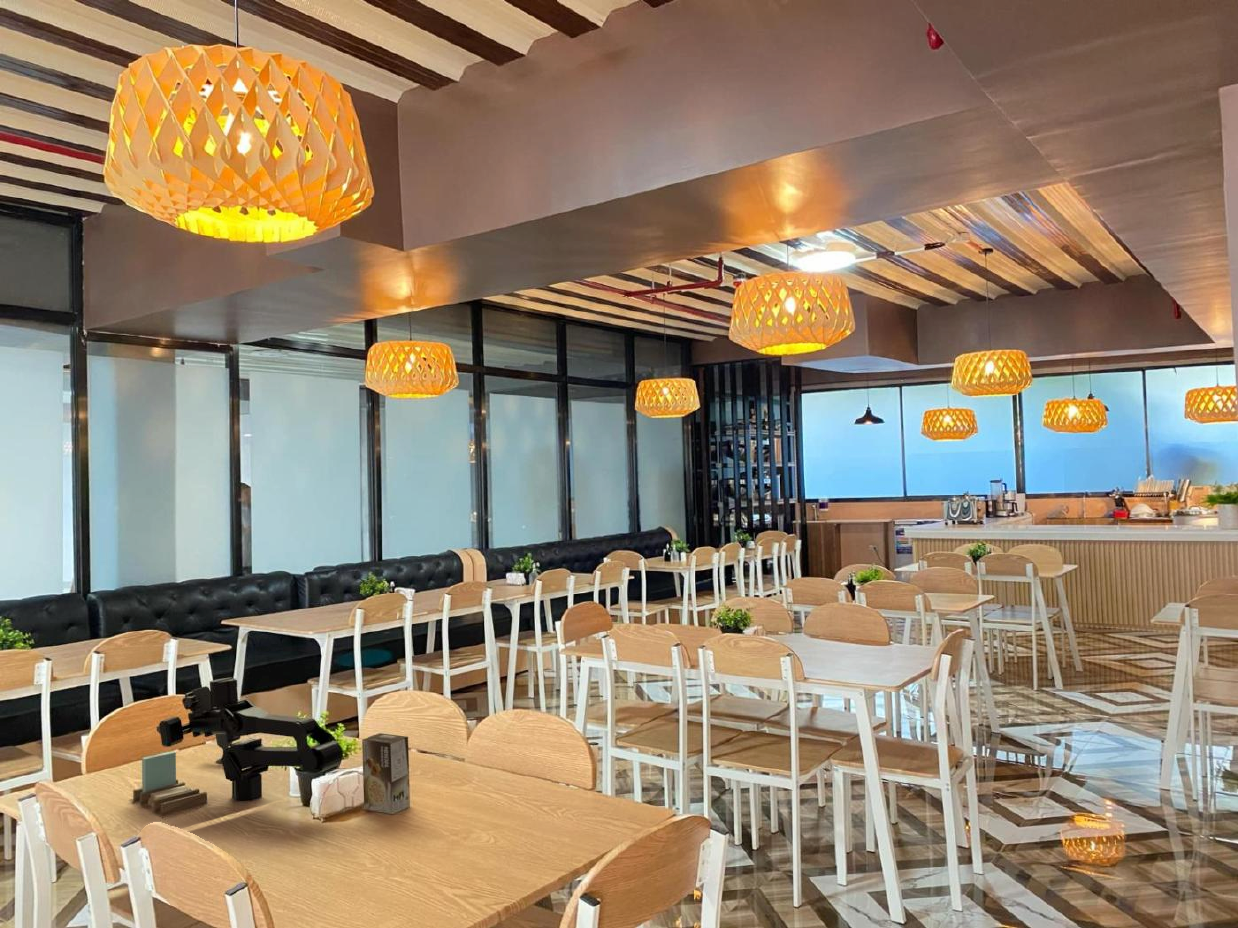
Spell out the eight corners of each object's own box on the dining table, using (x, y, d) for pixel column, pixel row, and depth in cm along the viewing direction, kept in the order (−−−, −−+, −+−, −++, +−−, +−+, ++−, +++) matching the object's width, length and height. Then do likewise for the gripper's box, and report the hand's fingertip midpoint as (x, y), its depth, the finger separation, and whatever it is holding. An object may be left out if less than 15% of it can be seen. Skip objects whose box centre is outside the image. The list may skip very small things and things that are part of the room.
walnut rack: (212, 808, 209) (211, 793, 209) (163, 822, 201) (162, 806, 201) (176, 791, 222) (175, 777, 222) (128, 803, 214) (128, 789, 214)
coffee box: (411, 805, 206) (410, 736, 207) (392, 815, 201) (391, 743, 201) (381, 800, 211) (380, 732, 211) (362, 809, 205) (360, 739, 206)
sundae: (231, 764, 245) (231, 708, 245) (207, 764, 245) (207, 709, 245) (242, 756, 251) (241, 703, 252) (219, 757, 251) (218, 704, 252)
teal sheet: (176, 793, 217) (175, 752, 218) (145, 801, 212) (145, 759, 212) (172, 792, 219) (172, 750, 219) (142, 799, 213) (141, 757, 214)
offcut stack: (192, 799, 213) (192, 788, 213) (156, 808, 207) (156, 798, 207) (183, 794, 216) (183, 784, 216) (147, 804, 210) (147, 793, 210)
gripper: (243, 679, 227) (200, 681, 233) (179, 700, 210) (135, 701, 216) (249, 722, 226) (205, 723, 233) (186, 747, 210) (141, 747, 216)
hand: (173, 722), depth 225 cm, fingers open, 9 cm apart
